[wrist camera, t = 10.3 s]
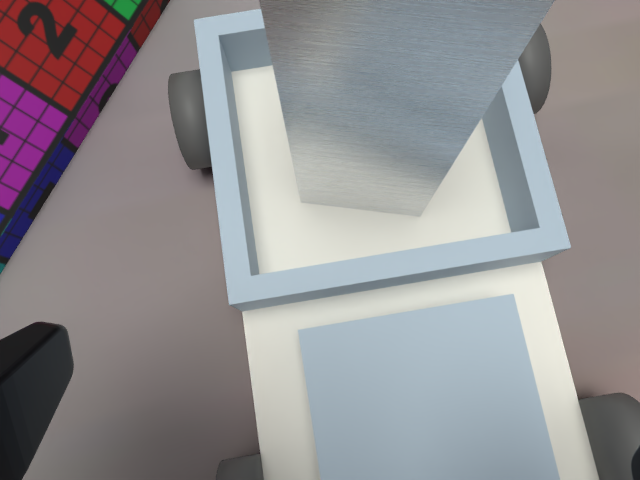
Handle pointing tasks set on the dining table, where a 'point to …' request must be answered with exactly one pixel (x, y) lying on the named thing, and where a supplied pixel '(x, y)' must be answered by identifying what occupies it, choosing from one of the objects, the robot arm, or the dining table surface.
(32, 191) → the block puzzle
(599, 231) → the dining table surface
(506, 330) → the chassis
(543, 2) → the block
